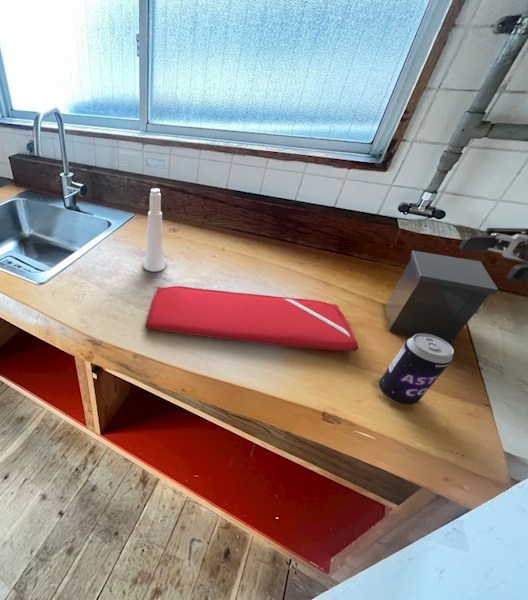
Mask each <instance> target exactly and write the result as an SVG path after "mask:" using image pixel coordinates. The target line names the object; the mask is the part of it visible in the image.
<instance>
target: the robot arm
mask: <svg viewBox="0 0 528 600" xmlns="http://www.w3.org/2000/svg"><path fill="white" fill-rule="evenodd" d="M523 245H524V246H523ZM521 246H523V247H522V248H521V249H520V250H519V252H518V253H516V252H514V250H515V249H516V248H517V247H521ZM458 249H460V250H461V251H465V252H466V251H467V252H468V251H470V252H475V251H476V252H477V251H478V252H480V251H481V252H483V251H484V252H487V251H489V252H493V253H498V254H501V256H502V257H503V258H506V259H509V260H515V261H520V262H524V263H527V264H516V265H514V266H513V267H512V268H511V269H510V270H509V272H508V273H507V274H506V276H505V278H506V279H507V280H508V281H510V282H523V283H528V228H527V227H525V228H524V227H523V228H522V227H521V228H520V227H519V228H517V227H515V228H514V227H487V228H486V229H485V230H484V231H483V234H482V235H467V236H465V237H464V238H463V239H462V241H461V243H459V245H458Z"/></svg>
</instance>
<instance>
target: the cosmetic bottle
mask: <svg viewBox="0 0 528 600" xmlns="http://www.w3.org/2000/svg"><path fill="white" fill-rule="evenodd" d="M161 201H162V195H161V189H160V188H151V189H150V194H149V210H148V212H147V222H146V223H147V225H146V243H145V244H146V245H145V257H144V263H143V268H144V269H145V270H146V271H149V272H160V271H162V270H164V269H165V266H166V264H165V258H164V257H165V256H164V240H163V238H164V237H163V212H162V211H161V209H162V208H161Z"/></svg>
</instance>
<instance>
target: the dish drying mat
mask: <svg viewBox="0 0 528 600" xmlns="http://www.w3.org/2000/svg"><path fill="white" fill-rule="evenodd" d="M145 329H148V330H155V331H156V330H157V331H164V332H171V333H177V334H186V335H193V336H200V337H211V338H217V339H226V340H232V341H233V340H234V341H243V342H252V343H259V344H266V345H267V344H268V345H275V346H283V347H295V348H303V349H304V348H306V349H316V350H325V351H326V350H329V351H342V352H343V351H345V352H346V351H347V352H351V351H354V352H356V351H358V350H359V345H358V342H357V339H356V338H355V335H354V333H353V330H352V328H351V326H350V323H349V322H348V320H347V318H346V317H345V315H344V313H343V312H342V311H341V309H340V307H339V305H338V304H335V303H329V302H324V301H322V300H317V299H316V300H315V299H309V298H298V297H297V298H295V297H287V296H274V295H265V294H255V293H246V292H234V291H226V290H216V289H206V288H196V287H191V286H190V287H189V286H181V285H172V286H167V287H164V286H157V287H156V291H155V295H154V296H153V298H152V300H151V303H150V307H149V310H148V314H147V318H146V322H145Z"/></svg>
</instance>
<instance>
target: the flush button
mask: <svg viewBox="0 0 528 600" xmlns="http://www.w3.org/2000/svg"><path fill="white" fill-rule="evenodd" d="M482 308H483V304H482V305H481V306H480V307H479V308H478V310H477V311H476V312H475V313H474V315H477V314H478V313H480V312H481V310H482Z"/></svg>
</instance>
